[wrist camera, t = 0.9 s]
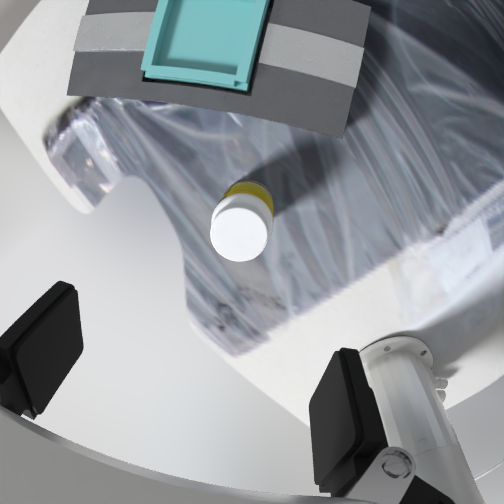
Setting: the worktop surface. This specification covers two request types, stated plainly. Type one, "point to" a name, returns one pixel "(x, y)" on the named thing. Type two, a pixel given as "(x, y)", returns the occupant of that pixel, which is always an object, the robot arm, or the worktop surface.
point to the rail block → (265, 71)
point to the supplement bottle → (243, 221)
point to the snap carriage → (205, 42)
